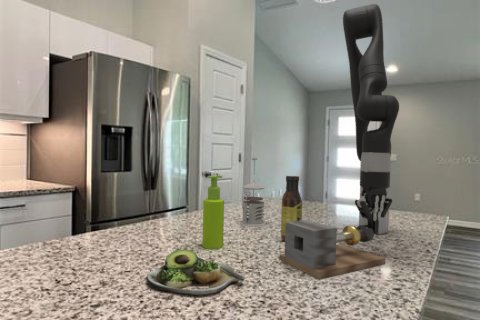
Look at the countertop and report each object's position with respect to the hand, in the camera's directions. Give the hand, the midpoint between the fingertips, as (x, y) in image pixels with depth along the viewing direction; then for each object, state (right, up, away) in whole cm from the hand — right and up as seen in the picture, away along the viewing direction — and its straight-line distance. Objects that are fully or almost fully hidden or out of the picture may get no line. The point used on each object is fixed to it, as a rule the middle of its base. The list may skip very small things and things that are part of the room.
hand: (372, 233), depth 93 cm
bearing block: (-13, -6, -7) cm, 16 cm away
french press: (-32, -4, +34) cm, 47 cm away
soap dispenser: (-43, -5, +5) cm, 44 cm away
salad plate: (-46, -6, -20) cm, 51 cm away
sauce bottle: (-20, -5, +13) cm, 24 cm away
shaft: (-11, -2, -6) cm, 12 cm away
